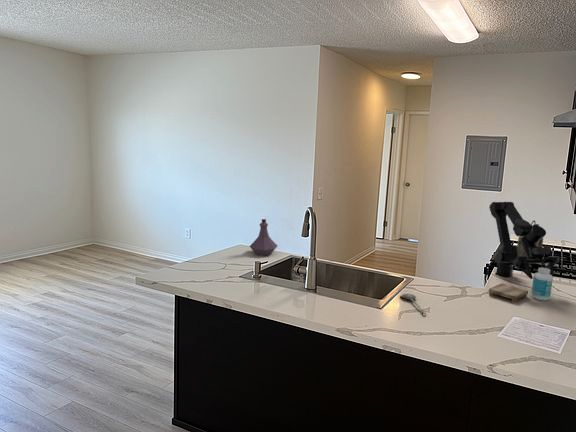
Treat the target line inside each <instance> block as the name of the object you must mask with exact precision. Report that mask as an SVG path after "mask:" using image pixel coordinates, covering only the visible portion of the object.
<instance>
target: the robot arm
mask: <svg viewBox="0 0 576 432" xmlns="http://www.w3.org/2000/svg"><path fill="white" fill-rule="evenodd" d="M489 211H490V213H491V214H490V215H491V216H492V217H493V218H494V219H495V221H496V222H495V223H496V227H497V233H498V238H499V245H500V247H499V248H498V250H497V252H498V253H497V255H495V257H494V262H495V263H496V264H497V265H496V271H495V273H494V275H496V276H501V277H504V278H509V277H511V276H513V275H514V274H513V271H514V268H516V269H519V270H520V271H521V272H523V273H524V274H525V275H526V276H527V277H528V278H529V279H530V280H533V277H534V276H533V274H532V271H531V269H530V268H529V263H530V264H535V263H537V264H542V265H543V266H544V267H543V268H548V269H550V273H549V274H550V275H552V277H553V278H554V267H555V265H556V264H558V263H559V262H560V260H559V258H558V256H555V255H553V256H552V255H549V254H550V253H552V247H551V246H550V245H545V246H542V247H537V245H536V243H537V242H539V241H540V240H541V239H542V238H543V239H544V238H545V236H546V234H547V230H546V229H545V228H544V227H542V226H540V224H539V223H537V224H536V223H534V224H532V225H531V223H530V221H527V220H525V219H524V218H523V217H522V215H521V213H519V211H518V209H517V208H516V207H515V203H514V202H512V201H492V202H491V204H490V205H489ZM507 217H508V219H509V221H511V223H512V225H513V226H512V231H513V232H514V234H515V236H516V237H519V236H524V237H523V238H520V241H519V244H522V246H523V249H524V252H523V254H524V255H526V256H518V253H517V245H513V244H512V242H511V237H510V231H509V227H508V221H507ZM545 255H547V257H546V258H544V257H545Z"/></svg>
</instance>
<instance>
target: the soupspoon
mask: <svg viewBox="0 0 576 432" xmlns="http://www.w3.org/2000/svg"><path fill="white" fill-rule="evenodd" d="M399 297H400V298H403V299H407V300H410V301H411V302H413V303H414V304H415V305H416V307H417V308H418V309H419V310H420V312H421V311H422V312H421V314H422V313H423V314H427V313H426V312H424V310H423V309H422V308H421V306H420V305H419V304H418V303H417V302H416V301H415V300H416V298H417V296H416V295H414V294H412V293H404V294H401V295H400V296H399Z"/></svg>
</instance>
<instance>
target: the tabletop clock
mask: <svg viewBox="0 0 576 432" xmlns="http://www.w3.org/2000/svg"><path fill="white" fill-rule="evenodd" d="M533 223H534V224H536V220H532V222H531V223H530V224H531V225H532V226H533V225H534V224H533ZM523 237H524V236H518V239H517V245H516V248H517V253H518V256H526V255H524V254H523V252H524V249H523V246H522V244H519V241H520V238H523ZM536 245H537V247H543V245H544V237H543V238H542V239H541V240H540V241H539V242H537V243H536ZM534 264H535V265H536V264H538V263H534ZM529 267H531V268H532V265H531V263H529Z"/></svg>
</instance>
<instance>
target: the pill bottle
mask: <svg viewBox="0 0 576 432" xmlns="http://www.w3.org/2000/svg"><path fill="white" fill-rule="evenodd" d="M549 273H550V269H548V268H544V267H538V269H537V272H535V273H534V274H533V276H532V277H533V278H532V284H531V285H532V286H531V294H530V295H531V297H532V298H533V299H534V300H535V299H536V300H538V301H549V300H550V299H551V294H552V286H553V281H554V276H553V277H552V275H550V274H549Z"/></svg>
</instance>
